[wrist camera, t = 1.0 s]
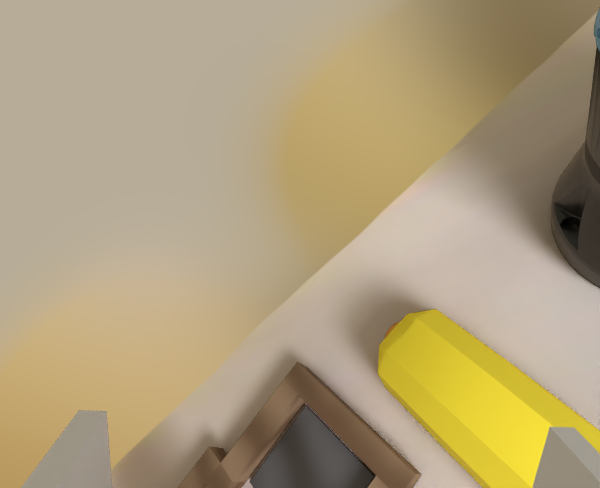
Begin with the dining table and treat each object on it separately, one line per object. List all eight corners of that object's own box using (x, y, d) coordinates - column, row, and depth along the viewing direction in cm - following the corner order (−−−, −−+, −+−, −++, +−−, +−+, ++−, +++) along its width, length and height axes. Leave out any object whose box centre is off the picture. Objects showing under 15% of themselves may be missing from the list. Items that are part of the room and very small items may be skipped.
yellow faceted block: (423, 303, 35) (366, 367, 35) (404, 271, 30) (337, 345, 30) (658, 479, 23) (575, 579, 23) (689, 475, 18) (584, 601, 18)
